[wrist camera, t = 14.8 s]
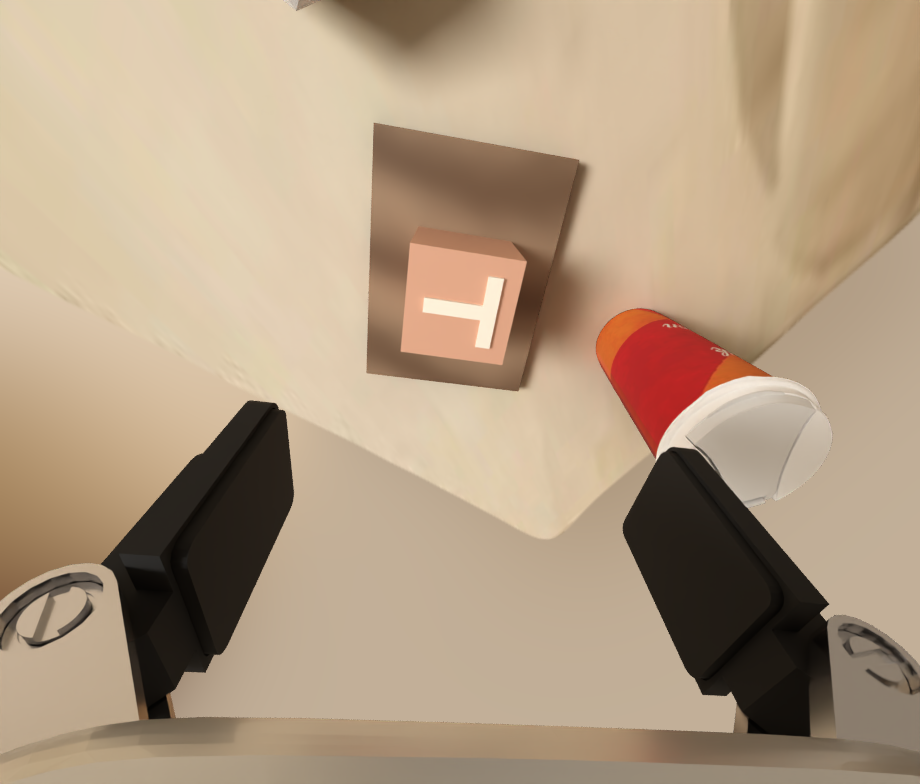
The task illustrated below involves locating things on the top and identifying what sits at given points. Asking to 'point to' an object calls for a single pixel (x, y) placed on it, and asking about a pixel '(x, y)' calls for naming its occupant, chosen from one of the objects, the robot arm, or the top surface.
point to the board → (463, 211)
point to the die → (300, 3)
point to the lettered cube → (460, 295)
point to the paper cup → (714, 405)
